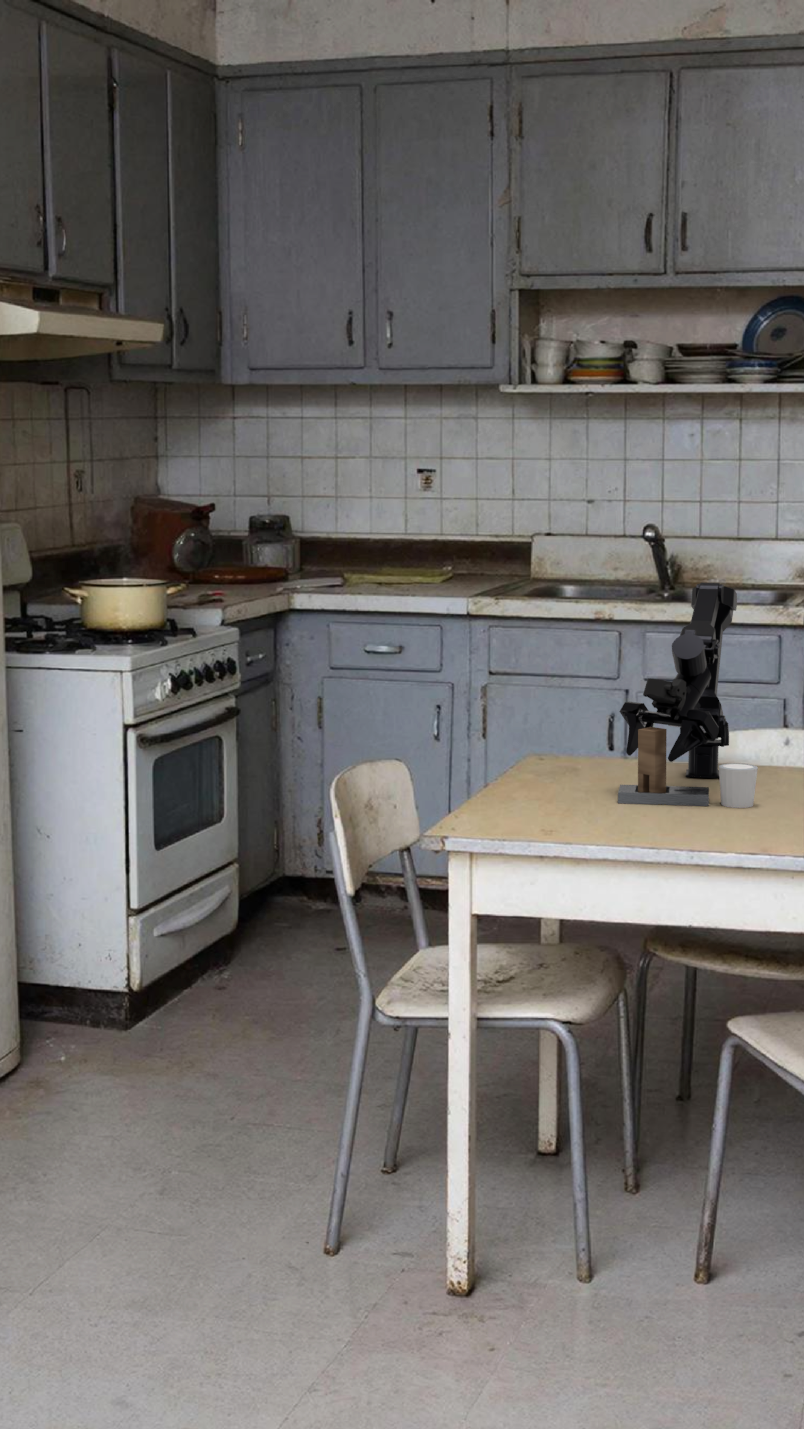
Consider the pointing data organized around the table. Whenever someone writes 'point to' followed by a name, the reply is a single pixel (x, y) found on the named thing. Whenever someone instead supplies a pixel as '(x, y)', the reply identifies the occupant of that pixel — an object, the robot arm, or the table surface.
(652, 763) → the brown block
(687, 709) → the robot arm
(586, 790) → the table surface
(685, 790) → the metal plate with hole
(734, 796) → the white cup
